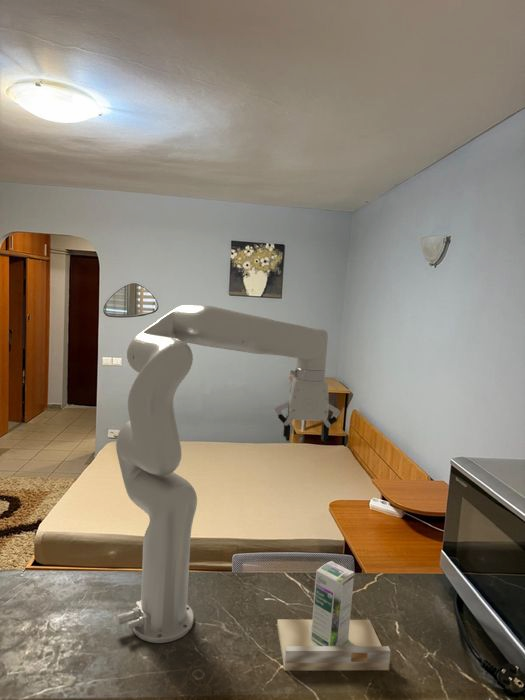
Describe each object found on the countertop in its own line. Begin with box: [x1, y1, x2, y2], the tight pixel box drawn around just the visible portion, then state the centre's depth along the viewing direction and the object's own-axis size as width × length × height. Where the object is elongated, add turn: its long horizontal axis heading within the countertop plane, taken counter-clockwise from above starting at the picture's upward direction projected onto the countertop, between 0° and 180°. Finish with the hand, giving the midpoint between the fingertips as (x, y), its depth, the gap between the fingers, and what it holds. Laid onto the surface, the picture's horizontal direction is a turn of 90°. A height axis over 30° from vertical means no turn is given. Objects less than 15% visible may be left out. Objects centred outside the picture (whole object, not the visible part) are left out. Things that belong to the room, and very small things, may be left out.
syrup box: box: [311, 560, 355, 646], centre depth 91 cm, size 6×6×14 cm
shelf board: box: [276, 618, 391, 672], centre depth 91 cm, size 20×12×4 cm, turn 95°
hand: (305, 440), depth 120 cm, fingers open, 9 cm apart
